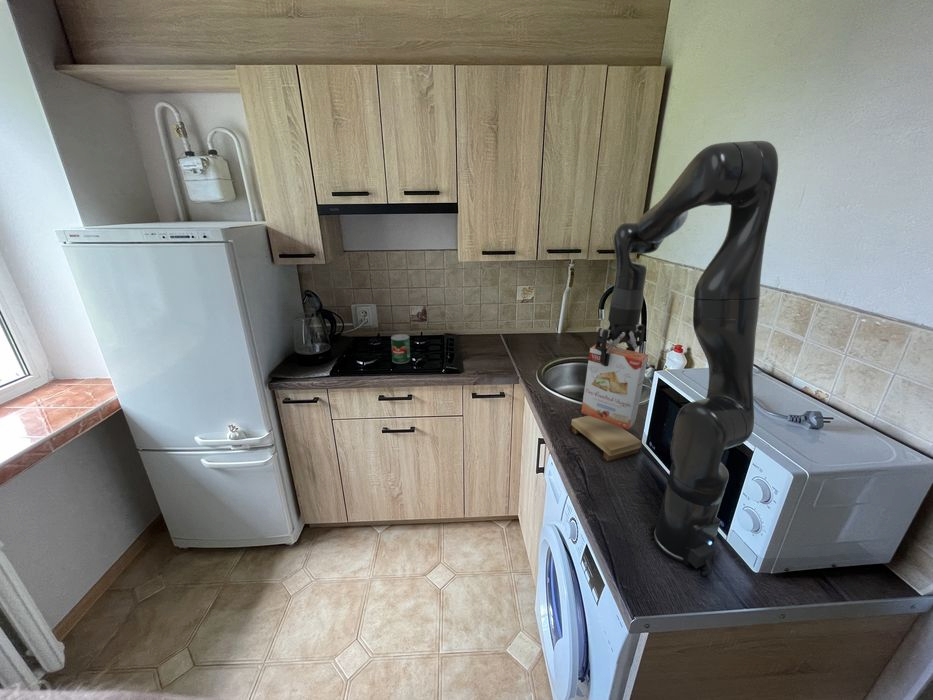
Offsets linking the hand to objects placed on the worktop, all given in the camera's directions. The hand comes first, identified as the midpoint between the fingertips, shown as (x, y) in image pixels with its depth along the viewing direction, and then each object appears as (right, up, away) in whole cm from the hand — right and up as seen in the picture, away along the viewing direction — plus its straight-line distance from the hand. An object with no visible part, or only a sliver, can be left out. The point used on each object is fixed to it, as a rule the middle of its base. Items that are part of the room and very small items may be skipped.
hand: (616, 363), depth 104 cm
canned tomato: (-70, -1, +66) cm, 96 cm away
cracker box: (0, -16, +6) cm, 17 cm away
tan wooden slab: (0, -23, +9) cm, 25 cm away
